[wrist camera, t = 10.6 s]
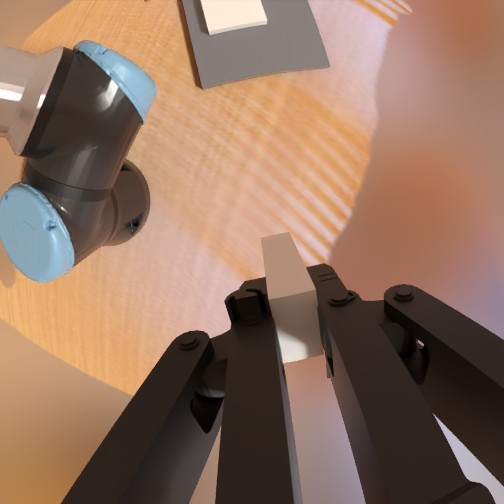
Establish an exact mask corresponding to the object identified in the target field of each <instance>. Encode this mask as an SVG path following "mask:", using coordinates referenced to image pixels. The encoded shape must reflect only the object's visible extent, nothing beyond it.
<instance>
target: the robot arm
mask: <svg viewBox="0 0 504 504" xmlns="http://www.w3.org/2000/svg"><path fill="white" fill-rule="evenodd" d="M156 93H157V90H156V85H155V83H154V81H153V80H152V78H151V77H150V76H149V75H148V74H147V73H146V72H145V71H144V70H143V69H141V68H140V67H139V66H137V65H136V64H135V63H133V62H132V61H130V60H129V59H127V58H126V57H124V56H123V55H121V54H119V53H117V52H115V51H113V50H112V49H107V48H106V47H104V46H102V45H100V44H99V43H96V42H93V41H89V40H83V41H80V42H79V43H78V44H77V45H75V46H74V48H73V50H71V49H68V48H65V47H62V46H58V47H56V48H54V49H52V50H50V51H48V52H46V53H44V54H40V55H36V54H33V53H29V52H26V51H22V50H18V49H15V48H11V47H6V46H2V45H0V137H4V138H6V139H7V140H8V141H9V143H10V145H11V147H12V149H13V151H14V153H15V155H17V156H22V157H28V159H27V162H26V166H25V169H24V173H23V177H22V181H21V183H20V182H19V183H15V184H13V185H12V186H11V187H10V188H9V189H8V191H6V192H5V193H4V194H3V196H2V197H1V200H0V238H1V241H2V244H3V246H4V248H5V250H6V253H7V255H8V257H9V258H10V260H11V261H12V263H13V264H14V265H15V267H16V268H17V269H18V270H19V271H20V272H21V273H22V274H24V275H25V276H26V277H28V278H30V279H32V280H34V281H37V282H50V281H53V280H55V279H57V278H58V277H60V276H62V275H65V274H67V273H68V272H69V271H71V269H72V268H73V267H74V266H75V265H77V264H78V263H79V262H81V261H82V260H83V259H85V258H86V257H87V256H89V255H90V254H91V253H93V252H94V251H95V250H97V249H98V248H100V247H101V246H115V245H119V244H122V243H124V242H126V241H128V240H129V239H131V238H132V237H133V236H135V235H136V234H137V233H138V232H139V231H140V230H141V229H142V227H143V226H144V224H145V222H146V220H147V217H148V214H149V209H150V193H149V188H148V185H147V182H146V180H145V178H144V176H143V174H142V173H141V171H140V170H139V169H138V168H137V167H136V166H135V165H134V164H133V163H131V162H130V161H128V160H126V156H127V154H128V152H129V150H130V148H131V146H132V144H133V142H134V139H135V137H136V135H137V133H138V131H139V129H140V127H141V126H142V125H144V123H145V121H146V115H147V113H148V111H149V109H150V107H151V105H152V103H153V101H154V99H155V97H156ZM261 242H262V250H263V258H264V267H265V275H266V277H263V278H258V279H253V280H249V281H245V282H244V283H243V284H242V285H241V287H240V289H239V290H237V291H235V292H233V293H231V294H230V295H229V296H227V297H226V299H225V301H224V302H225V305H226V308H227V311H228V314H229V317H230V321H231V329H230V330H229V331H227V332H225V333H223V334H221V335H219V336H216V337H213V338H209V336H208V334H207V333H205V332H204V331H198V330H196V331H189V332H186V333H183V334H182V335H180V336H178V337H176V338H175V339H174V340H173V341H172V343H171V344H170V345H169V347H168V348H167V350H166V351H165V352H164V354H163V355H162V357H161V358H160V359H159V361H158V362H157V364H156V365H155V367H154V368H153V369H152V371H151V372H150V374H149V375H148V377H147V378H146V379H145V381H144V382H143V384H142V385H141V387H140V388H139V389H138V391H137V392H136V394H135V395H134V397H133V398H132V399H131V401H130V402H129V404H128V405H127V407H126V408H125V409H124V411H123V412H122V414H121V415H120V417H119V418H118V420H117V421H116V422H115V424H114V425H113V427H112V428H111V430H110V431H109V433H108V434H107V436H106V437H105V439H104V440H103V442H102V443H101V445H100V446H99V447H98V449H97V450H96V452H95V453H94V455H93V456H92V458H91V459H90V461H89V462H88V464H87V465H86V466H85V468H84V469H83V471H82V472H81V474H80V476H79V477H78V478H77V480H76V481H75V483H74V484H73V486H72V487H71V489H70V491H69V492H68V494H67V495H66V496H65V498H64V499H63V501H62V502H61V504H189V502H190V500H191V497H192V495H193V493H194V490H195V488H196V485H197V483H198V481H199V478H200V476H201V473H202V471H203V469H204V466H205V464H206V461H207V459H208V457H209V454H210V452H211V449H212V447H213V444H214V442H215V439H216V437H217V434H218V432H219V429H220V427H221V437H220V449H219V462H218V474H217V486H216V500H215V504H303V501H302V493H301V485H300V477H299V470H298V461H297V454H296V447H295V439H294V431H293V424H292V417H291V410H290V403H289V397H288V390H287V382H286V375H285V370H284V365H283V363H286V362H291V361H296V360H301V359H306V358H310V357H314V356H319V355H323V354H324V353H323V348H324V351H325V356H326V367H327V378H331V381H332V384H333V387H334V390H335V394H336V397H337V400H338V404H339V407H340V410H341V414H342V417H343V421H344V424H345V427H346V431H347V434H348V438H349V441H350V445H351V449H352V452H353V456H354V459H355V463H356V467H357V471H358V474H359V478H360V482H361V486H362V490H363V494H364V498H365V502H366V504H496V503H495V501H494V499H493V497H492V495H491V493H490V492H489V490H488V488H486V487H485V486H484V485H482V484H481V483H476V482H471V481H469V480H468V479H467V478H466V477H465V475H464V474H463V472H462V469H461V467H460V465H459V463H458V461H457V459H456V457H455V455H454V453H453V451H452V449H451V447H450V445H449V443H448V441H447V439H446V437H445V435H444V433H443V431H442V429H441V427H440V426H439V424H438V422H437V420H436V418H435V416H436V417H437V418H438V419H439V420H440V421H441V422H442V423H443V424H444V425H445V426H446V427H447V428H448V429H449V430H450V431H451V432H452V433H453V434H454V435H455V436H456V437H457V438H458V439H459V440H460V441H461V442H462V443H463V444H464V445H465V446H466V447H467V449H468V450H469V451H470V452H471V453H472V454H473V455H474V456H475V457H476V458H477V459H478V460H479V461H480V462H481V463H482V464H483V465H484V466H485V467H486V468H487V469H488V470H489V472H490V473H491V474H492V475H493V476H494V477H495V478H496V479H497V480H498V481H499V482H500V483H501V484H502V485H503V486H504V340H503V339H501V338H500V337H498V336H497V335H495V334H494V333H492V332H491V331H489V330H487V329H486V328H484V327H483V326H481V325H480V324H478V323H476V322H475V321H473V320H471V319H470V318H468V317H466V316H465V315H463V314H462V313H460V312H458V311H457V310H455V309H453V308H452V307H450V306H448V305H447V304H445V303H443V302H442V301H440V300H438V299H436V298H435V297H433V296H431V295H430V294H428V293H426V292H424V291H423V290H421V289H419V288H417V287H415V286H412V285H406V284H402V285H396V286H393V287H391V288H389V289H388V290H386V292H385V293H384V300H379V301H363V300H362V299H361V298H360V297H359V295H358V294H356V292H354V291H350V290H347V289H346V288H345V286H344V284H343V283H342V281H341V280H340V278H338V275H337V274H336V273H335V271H334V269H333V268H332V267H331V266H329V265H327V264H319V265H315V266H310V267H305V265H304V263H303V260H302V258H301V256H300V254H299V252H298V250H297V248H296V246H295V243H294V241H293V239H292V237H291V235H290V233H289V232H287V233H282V234H277V235H273V236H268V237H263V238H261ZM418 340H419V341H421V342H422V343H423V344H424V346H422V345H420V344H419V343H418ZM433 414H434V415H435V416H434V415H433ZM221 424H222V426H221Z"/></svg>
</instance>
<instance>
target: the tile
mask: <svg viewBox="0 0 504 504" xmlns="http://www.w3.org/2000/svg"><path fill="white" fill-rule="evenodd" d="M201 4H202V8H203V11H204V15H205V19H206V23H207V27H208V31H209V34H210V35H213V34H217V33H222V32H226V31H231V30H236V29H241V28H246V27H252V26H258V25H265V24H267V18H266V15H265V12H264V9H263V6H262V3H261V0H201Z"/></svg>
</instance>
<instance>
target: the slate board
mask: <svg viewBox="0 0 504 504" xmlns="http://www.w3.org/2000/svg"><path fill="white" fill-rule="evenodd" d="M182 2H183V6H184V11H185V15H186V20H187V24H188V29H189V33H190V38H191V42H192V46H193V51H194V55H195V59H196V64H197V68H198V72H199V77H200V81H201V85H202V88H203V90H204V89H207V88H211V87H215V86H219V85H223V84H227V83H232V82H236V81H241V80H245V79H250V78H255V77H261V76H267V75H273V74H279V73H286V72H293V71H301V70H311V69H321V68H329V66H330V64H329V61H328V57H327V54H326V51H325V48H324V45H323V42H322V39H321V36H320V33H319V30H318V27H317V24H316V22H315V19H314V16H313V14H312V11H311V9H310V6H309V3H308V1H307V0H261V3H262V6H263V9H264V12H265V15H266V18H267V24H265V25H258V26H252V27H246V28H241V29H236V30H231V31H226V32H222V33H217V34H213V35H210V34H209V31H208V27H207V23H206V19H205V15H204V11H203V8H202V4H201V0H182Z"/></svg>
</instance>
